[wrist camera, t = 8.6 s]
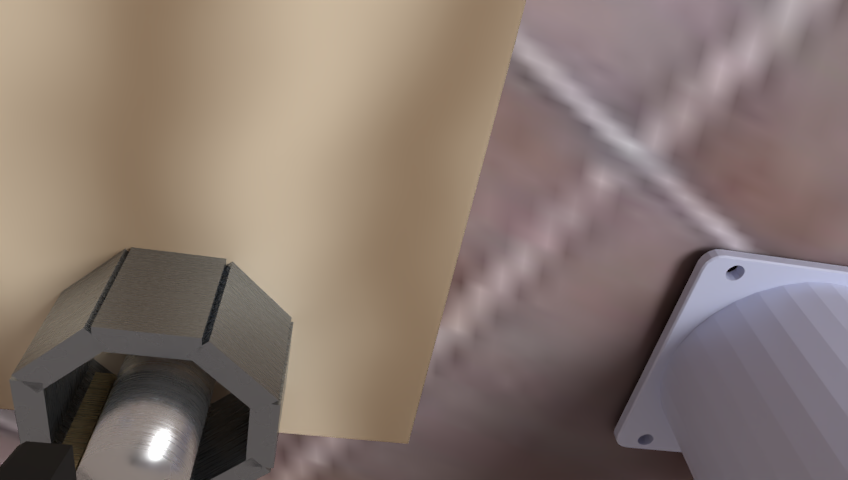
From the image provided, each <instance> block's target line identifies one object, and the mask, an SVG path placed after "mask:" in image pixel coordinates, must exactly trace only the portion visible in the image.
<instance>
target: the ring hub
mask: <svg viewBox="0 0 848 480" xmlns="http://www.w3.org/2000/svg"><path fill="white" fill-rule="evenodd" d="M292 330H293V322H291V316H290V315H288V314H287V313H286V312H285V311H284V310H283V309H282V308H281V307H280V306H279V305H278V304H277V303H276V302H275V301H274V300H273V299H272V298H271V297H270V296H268V295H267V294H266V293H265V292H264V291H263V290H262V289H261V288H260V287H259V286H258V285H257V284H256V283H255V282H254V281H253V280H252V279H251V278H250V277H248V276H247V275H246V274H245V273H244V272H243V271H242V270H241V269H240V268H239V267H238V266H237V265H236V264H235V263H234V262H231V263H230V264H228V265H226V259H225V258H217V257H209V256H201V255H192V254H184V253H176V252H168V251H159V250H151V249H143V248H135V247H132V248H131V250H130V251H128V250H126V249H124V250H122V251H121V252H119V253H118V254H116V255H115V256H113V257H112V258H111V259H109V260H108V261H106V262H105V263H103V264H102V265H100V266H99V267H97V268H96V269H94V270H93V271H92V272H90V273H89V274H87V275H86V276H84V277H83V278H81V279H80V280H78V281H77V282H75V283H74V284H73V285H71V286H70V287H68V288H67V289H65V290H64V291H62V292H61V294H60V296H59V297H58V299H57V301H56V302H55V304H54V306H53V307H52V309H51V310H50V312H49V314H48V315H47V317H46V319H45V320H44V322H43V324H42V325H41V327H40V329H39V330H38V332H37V334H36V335H35V337H34V339H33V340H32V342H31V344H30V345H29V347H28V349H27V350H26V352H25V354H24V355H23V357H22V359H21V360H20V362H19V364H18V365H17V367H16V368H15V370H14V372H13V373H12V376H11V378H10V380H9V382H10V387H11V393H12V399H13V404H14V410H15V415H16V421H17V427H18V432H19V438H20V443H21V444H22V443H24V442H25V441H30V442H42V443H55V444H62V443H63V441H64V439H65V437H66V435H67V433H68V431H69V428H70V426H71V424H72V422H73V420H74V418H75V416H76V413H77V411H78V409H79V407H80V405H81V403H82V401H83V398H84V396H85V394H86V392H87V390H88V388H89V386H90V383H91V381H92V379H93V377H94V375H95V373H96V372H99V373H110V374H113V373H112V372H111V371H109V370H108V369H106V368H105V367H104V366H102V365H101V364H100V363H98V362H97V361H96V360H94V359H93V357H95V356H97V355H98V354H100V353H101V352H110V353H120V354H130V355H140V356H150V357H160V358H170V359H180V360H190V361H193V362H194V363H195V364H197V365H198V366H199V367H200V368H202V369H203V370H204V371H205V372H206V373H208V374H209V375H210V376H211V377H213V378H214V379H215V380H216V381H218V382H219V383H220V384H221V385H222V386H224V387H225V388H226V389H227V390H229V391H230V392H231V393H230V394H228V395H226V396H225V397H223V398H221V399H219V400H218V401H216V402H214V403H210V405H209V409H208V413H207V417H206V420H205V424H204V428H203V432H202V436H201V439H200V443H199V447H198V451H197V454H196V458H195V462H194V466H193V470H192V473H191V477H190V480H256V479H258V478H260V477H262V476H263V475H265V474H267V473H269V472H270V471H271V468H274V461H275V454H276V448H277V441H278V434H279V428H280V421H281V414H282V408H283V401H284V394H285V388H286V380H287V372H288V364H289V355H290V347H291V338H292Z"/></svg>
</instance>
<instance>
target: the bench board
mask: <svg viewBox="0 0 848 480" xmlns="http://www.w3.org/2000/svg"><path fill="white" fill-rule="evenodd" d="M525 3H526V0H0V409H10V410H14V404H13V399H12V393H11V387H10V382H9V380H10V378H11V376H12V373H13V372H14V370H15V368H16V367H17V365H18V364H19V362H20V360H21V359H22V357H23V355H24V354H25V352H26V350H27V349H28V347H29V345H30V344H31V342H32V340H33V339H34V337H35V335H36V334H37V332H38V330H39V329H40V327H41V325H42V324H43V322H44V320H45V319H46V317H47V315H48V314H49V312H50V310H51V309H52V307H53V306H54V304H55V302H56V301H57V299H58V297H59V296H60V294H61V292H62V291H64V290H65V289H67V288H68V287H70V286H71V285H73V284H74V283H75V282H77V281H78V280H80V279H81V278H83V277H84V276H86V275H87V274H89V273H90V272H92V271H93V270H94V269H96V268H97V267H99V266H100V265H102V264H103V263H105V262H106V261H108V260H109V259H111V258H112V257H113V256H115V255H116V254H118V253H119V252H121V251H122V250H124V249H126V250H128V251H130V250H131V248H132V247H135V248H143V249H151V250H159V251H168V252H176V253H184V254H192V255H201V256H209V257H217V258H225V259H226V265H228V264H230V263H231V262H234V263H235V264H236V265H237V266H238V267H239V268H240V269H241V270H242V271H243V272H244V273H245V274H246V275H247V276H248V277H250V278H251V279H252V280H253V281H254V282H255V283H256V284H257V285H258V286H259V287H260V288H261V289H262V290H263V291H264V292H265V293H266V294H267V295H268V296H270V297H271V298H272V299H273V300H274V301H275V302H276V303H277V304H278V305H279V306H280V307H281V308H282V309H283V310H284V311H285V312H286V313H287V314H288V315H290V316H291V322H293V330H292V338H291V347H290V355H289V364H288V372H287V380H286V388H285V394H284V401H283V408H282V414H281V421H280V428H279V433H289V434H301V435H312V436H324V437H336V438H347V439H359V440H370V441H382V442H394V443H405V444H408V442H409V439H410V435H411V431H412V427H413V423H414V420H415V416H416V412H417V408H418V405H419V401H420V397H421V393H422V390H423V386H424V382H425V378H426V375H427V371H428V367H429V363H430V360H431V356H432V352H433V348H434V345H435V341H436V337H437V333H438V330H439V326H440V322H441V318H442V315H443V311H444V307H445V303H446V300H447V296H448V292H449V288H450V285H451V281H452V277H453V273H454V269H455V266H456V262H457V258H458V254H459V251H460V247H461V243H462V239H463V236H464V232H465V228H466V224H467V221H468V217H469V213H470V209H471V206H472V202H473V198H474V194H475V191H476V187H477V183H478V179H479V176H480V172H481V168H482V164H483V161H484V157H485V153H486V149H487V146H488V142H489V138H490V134H491V130H492V127H493V123H494V119H495V115H496V112H497V108H498V104H499V100H500V97H501V93H502V89H503V85H504V82H505V78H506V74H507V70H508V67H509V63H510V59H511V55H512V52H513V48H514V44H515V40H516V37H517V33H518V29H519V25H520V22H521V18H522V14H523V10H524V7H525ZM125 357H126V354H120V353H110V352H101V353H100V354H98V355H97V356H95V357H93V359H94V360H96V361H97V362H98V363H100V364H101V365H102V366H104V367H105V368H106V369H108V370H109V371H111V372H112V373H113V374H116V376H117V375H118V373H119V371H120V368H121V366H122V364H123V361H124V359H125ZM230 393H231V392H230V391H229V390H227V389H226V388H225V387H224V386H222V385H221V384H220V383H219V382H218V381H216V383H215V386H214V390H213V394H212V398H211V401H210V403H214V402H216V401H218V400H219V399H221V398H223V397H225V396H226V395H228V394H230Z"/></svg>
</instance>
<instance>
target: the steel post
mask: <svg viewBox="0 0 848 480" xmlns="http://www.w3.org/2000/svg"><path fill="white" fill-rule="evenodd" d="M215 383H216V380H215V379H214V378H213V377H211V376H210V375H209V374H208V373H206V372H205V371H204V370H203V369H202V368H200V367H199V366H198V365H197V364H195V363H194V362H193V361H190V360H180V359H170V358H160V357H150V356H140V355H130V354H126V357H125V359H124V361H123V364H122V366H121V368H120V371H119V373H118V375H117V376H116V374H110V373H99V372H96V373H95V375H94V377H93V379H92V381H91V383H90V386H89V388H88V390H87V392H86V394H85V396H84V398H83V401H82V403H81V405H80V407H79V409H78V411H77V413H76V416H75V418H74V420H73V422H72V424H71V426H70V428H69V431H68V433H67V435H66V437H65V439H64V441H63V443H62V444H67V445H73V453H74V462H75V470H76V478H77V480H190V477H191V473H192V470H193V466H194V462H195V458H196V454H197V451H198V447H199V443H200V439H201V436H202V432H203V428H204V424H205V420H206V417H207V413H208V409H209V405H210V401H211V398H212V394H213V390H214V386H215Z"/></svg>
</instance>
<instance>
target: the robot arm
mask: <svg viewBox="0 0 848 480" xmlns="http://www.w3.org/2000/svg"><path fill="white" fill-rule="evenodd" d="M733 266H737V268H736V269H735V270H733V271H731V272H727V271H728V269H729V268H731V267H733ZM614 435H615V438H616V440H617V443H618V444H619V445H620V446H623V447H628V448H639V449H650V450H661V451H673V452H682V454H683V456H684V458H685V460H686V463H687V465H688V467H689V469H690V472H691V474H692V476H693V478H694V480H848V267H847V266H839V265H832V264H825V263H818V262H810V261H803V260H796V259H788V258H781V257H774V256H767V255H759V254H752V253H745V252H737V251H730V250H723V249H715V250H712V251H709V252H707V253H705V254H704V255H702V256H701V258H700V259H699V260H698V262H697V264H696V266H695V268H694V270H693V272H692V274H691V276H690V278H689V280H688V282H687V284H686V286H685V288H684V290H683V292H682V294H681V296H680V298H679V300H678V302H677V304H676V306H675V308H674V310H673V312H672V314H671V316H670V318H669V320H668V322H667V324H666V326H665V328H664V330H663V332H662V334H661V336H660V338H659V340H658V342H657V344H656V346H655V348H654V350H653V353H652V355H651V357H650V359H649V361H648V363H647V365H646V367H645V369H644V371H643V373H642V375H641V377H640V379H639V381H638V383H637V385H636V387H635V389H634V391H633V393H632V395H631V397H630V399H629V401H628V403H627V405H626V407H625V409H624V411H623V413H622V415H621V417H620V419H619V421H618V423H617V425H616V427H615V430H614ZM0 480H77V478H76V470H75V462H74V453H73V445H67V444H55V443H42V442H30V441H25V442H24V443H22V444H21V445H19V446H18V447H17V448H16V449H15V450H14V451H13V453H12V454H11V455H10V456H9V457H8V458H7V459H6V461H5V462H4V463H3V464H2V465H1V466H0Z"/></svg>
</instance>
